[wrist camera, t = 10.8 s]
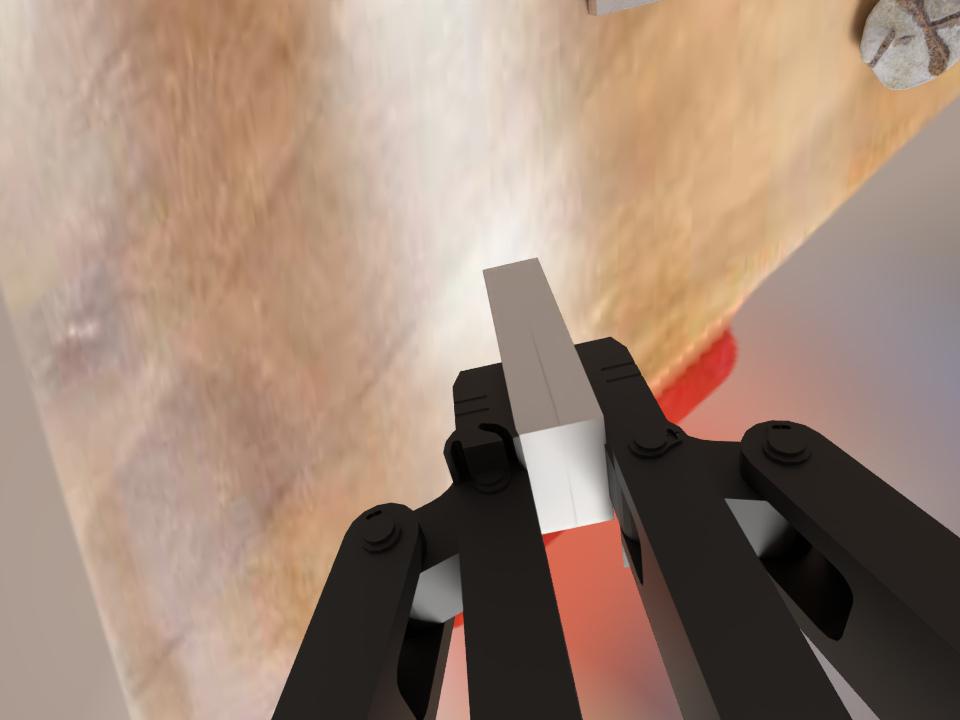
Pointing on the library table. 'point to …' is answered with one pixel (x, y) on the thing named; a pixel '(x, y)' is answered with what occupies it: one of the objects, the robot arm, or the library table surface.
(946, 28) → the stone
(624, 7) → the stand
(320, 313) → the library table surface
